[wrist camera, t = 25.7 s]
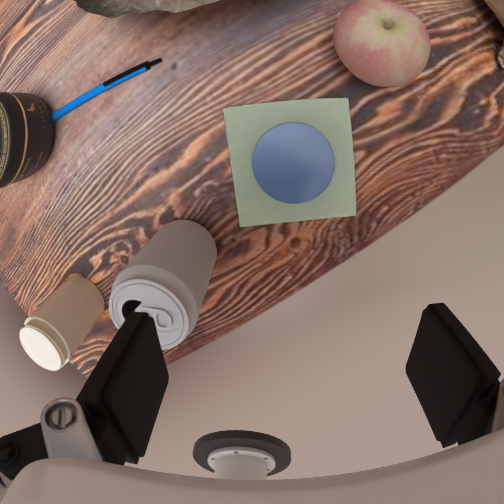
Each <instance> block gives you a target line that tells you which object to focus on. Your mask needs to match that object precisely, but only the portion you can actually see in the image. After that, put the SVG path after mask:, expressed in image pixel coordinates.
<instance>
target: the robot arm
mask: <svg viewBox="0 0 504 504" xmlns="http://www.w3.org/2000/svg"><path fill="white" fill-rule="evenodd" d="M406 374H407V376H408V378H409V380H410V382H411V384H412V386H413V388H414V391H415V393H416V395H417V397H418V399H419V401H420V404H421V406H422V408H423V410H424V412H425V415H426V417H427V419H428V421H429V424H430V426H431V428H432V431H433V433H434V435H435V438H436V440H437V441H440V442H441V444H442V447H443V448H445V447H448V446H450V445H453V444H455V443H456V442H457V443H458V445H459V446H456V447H453V448H450V449H447V450H445V451H441V452H438V453H435V454H432V455H429V456H425V457H422V458H419V459H415V460H411V461H407V462H403V463H399V464H395V465H391V466H386V467H381V468H376V469H372V470H366V471H360V472H355V473H348V474H342V475H334V476H325V477H315V478H303V479H285V480H267V473H269V472H271V471H272V470H273V469H274V468H275V463H276V461H275V458H274V457H273V456H272V455H271V454H270V453H268V452H266V451H263V450H260V449H256V448H251V447H243V446H232V447H223V448H219V449H216V450H214V451H212V452H211V453H210V454H209V455H208V460H207V461H208V464H209V466H210V467H211V468H212V469H214V470H215V472H214V478H203V477H192V476H184V475H176V474H169V473H162V472H155V471H149V470H143V469H139V468H133V467H129V466H124V463H125V462H129V463H133V464H137V463H138V460H139V457H143V456H144V455H145V452H146V449H147V446H148V443H149V439H150V436H151V433H152V430H153V427H154V424H155V421H156V418H157V415H158V412H159V409H160V405H161V402H162V399H163V396H164V393H165V390H166V387H167V384H168V379H169V376H168V371H167V368H166V364H165V360H164V356H163V353H162V349H161V345H160V341H159V337H158V333H157V329H156V325H155V321H154V318H153V317H149V314H148V313H147V312H130V313H129V315H128V316H127V318H126V319H125V321H124V322H123V324H122V326H121V327H120V329H119V330H118V332H117V333H116V335H115V336H114V338H113V340H112V341H111V343H110V344H109V346H108V347H107V349H106V350H105V352H104V353H103V355H102V357H101V358H100V360H99V362H98V363H97V365H96V366H95V368H94V370H93V371H92V373H91V375H90V376H89V378H88V380H87V382H86V383H85V385H84V386H83V388H82V390H81V392H80V394H79V395H78V397H77V399H76V400H74V399H71V398H65V397H62V398H58V399H55V400H53V401H51V402H50V403H48V404H47V405H46V406H45V407H44V409H43V411H42V413H41V417H40V419H41V423H38V424H35V425H33V426H30V427H27V428H25V429H22V430H19V431H16V432H14V433H11V434H8V435H5V436H3V437H1V438H0V504H504V379H503V380H502V381H501V382H499V380H498V378H499V376H500V375H501V373H500V372H499V371H498V369H497V368H496V366H495V365H494V364H493V362H492V361H491V360H490V358H489V357H488V356H487V354H486V353H485V352H484V351H483V349H482V348H481V347H480V346H479V344H478V343H477V342H476V340H475V339H474V338H473V337H472V336H471V335H470V333H469V332H468V331H467V330H466V328H465V327H464V326H463V325H462V323H461V322H460V321H459V320H458V319H457V318H456V317H455V315H454V314H453V313H452V312H451V311H450V310H449V309H448V307H447V306H446V305H445V304H444V303H436V304H429V305H428V306H427V308H426V309H424V310H423V313H422V317H421V320H420V323H419V326H418V330H417V333H416V337H415V340H414V343H413V346H412V349H411V352H410V355H409V358H408V361H407V364H406Z"/></svg>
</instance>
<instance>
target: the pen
mask: <svg viewBox="0 0 504 504" xmlns="http://www.w3.org/2000/svg"><path fill="white" fill-rule="evenodd" d="M161 61H162V59H161V58H159V59H157V60H154V61H152V62H150V63H149V62H148V61H146V62H144V63H142V64H139V65H137V66H135V67H133V68H131V69H129V70H127V71H125V72H123V73H121V74H119V75H117V76H115V77H113V78H111V79H109V80H107V81H106V82H104V83H102V84H100V85H98V86H97V87H95V88H93V89H91V90H90V91H88V92H86V93H84V94H83V95H81V96H79V97H78V98H76V99H75V100H73V101H71V102H70V103H68V104H67V105H65V106H64V107H62V108H61V109H59V110H58V111H56V112H55V113H53V114H52V119H53V122H54V121H56V120H57V119H59V118H60V117H62V116H63V115H65V114H67V113H68V112H70V111H71V110H73V109H75V108H76V107H78V106H79V105H81V104H83V103H85V102H86V101H88V100H90V99H91V98H93V97H95V96H97V95H99V94H100V93H102V92H104V91H106V90H108V89H110V88H112V87H114V86H115V85H117V84H119V83H121V82H123V81H125V80H127V79H129V78H132V77H134V76H136V75H138V74H140V73H142V72H144V71H147V70H149V69H150V66H152V65H154V64H157V63H159V62H161Z"/></svg>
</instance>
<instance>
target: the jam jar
mask: <svg viewBox="0 0 504 504" xmlns="http://www.w3.org/2000/svg"><path fill="white" fill-rule="evenodd" d="M104 307H105V305H104V299H103V296H102V294H101V292H100V291H99V289H98V288H97V287H96V286H95V285H94V284H93V283H92V282H91V281H90V280H88V279H86V278H84V277H81V276H72V277H70V278H68V279H67V280H66V281H65V282H64V283H63V284H62V285H61V286H60V287H59V288H58V289H56V290H55V291H54V292H53V293H52V294H51V295H50V296H49V297H48V298H47V299H46V300H45V301H44V302H43V303H42V304H41V305H40V306H39V307H38V308H37V309H36V310H35V311H34V312H33V313H32V314H31V315H30V316H29V317H28V318H27V319H26V321H25V324H24V327H23V328H22V329H21V330H20V341H21V343H22V346H23V348H24V349H25V351H26V352H27V354H28V355H29V356H30V357H31V358H32V359H33V360H34V361H35V362H36V363H37V364H38V365H40V366H41V367H43V368H45V369H47V370H51V371H56V370H59V369H60V368H61V367H63V366H64V364H66V363H67V362H68V361H69V360H70V359H71V357H72V356H73V354H74V353H75V351H76V350H77V348H78V347H79V346H80V344H81V343H82V341H83V340H84V339H85V337H86V336H87V334H88V333H89V332H90V330H91V329H92V328H93V326H94V325H95V323H96V322H97V321H98V319H99V318H100V317H101V315H102V314H103V312H104Z"/></svg>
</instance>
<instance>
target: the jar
mask: <svg viewBox="0 0 504 504" xmlns="http://www.w3.org/2000/svg"><path fill="white" fill-rule="evenodd" d="M53 139H54V122H53V119H52V114H51V111H50V109H49V107H48V105H47V104H46V103H45V102H44V101H43V100H42V99H40V98H39V97H37V96H34V95H32V94H28V93H9V92H0V189H2V188H5V187H7V186H8V185H10V184H12V183H15V182H18V181H21V180H23V179H26V178H28V177H30V176H31V175H32V174H34V173H35V172H36V171H37V170H39V169H40V168H41V167H42V166H43V164H44V163H45V161H46V160H47V158H48V156H49V153H50V151H51V147H52V144H53Z"/></svg>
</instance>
